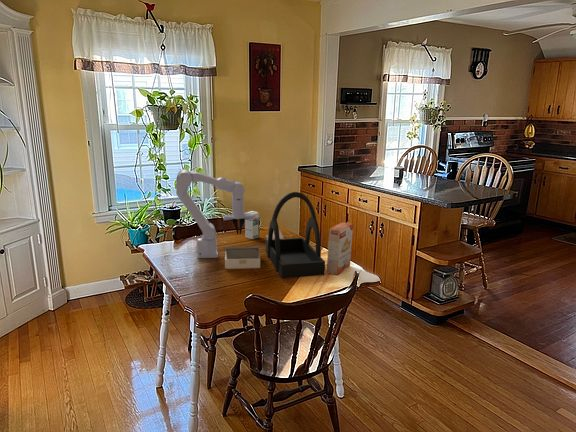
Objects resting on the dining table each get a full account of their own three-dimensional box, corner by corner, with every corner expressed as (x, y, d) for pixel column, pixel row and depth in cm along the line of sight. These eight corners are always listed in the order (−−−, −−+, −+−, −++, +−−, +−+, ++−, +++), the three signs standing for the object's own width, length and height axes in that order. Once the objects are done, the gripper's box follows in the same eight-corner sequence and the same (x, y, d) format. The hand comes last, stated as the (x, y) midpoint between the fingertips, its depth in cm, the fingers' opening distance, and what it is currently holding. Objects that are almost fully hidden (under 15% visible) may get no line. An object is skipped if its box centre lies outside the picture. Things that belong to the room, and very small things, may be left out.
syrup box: (252, 239, 239) (252, 214, 235) (244, 237, 242) (244, 212, 239) (259, 237, 243) (259, 212, 240) (251, 235, 247) (251, 210, 243)
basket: (264, 252, 220) (264, 185, 211) (304, 249, 226) (306, 184, 217) (279, 279, 188) (281, 201, 179) (326, 275, 193) (329, 199, 184)
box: (225, 269, 197) (224, 259, 196) (225, 257, 211) (225, 249, 209) (260, 268, 199) (260, 259, 197) (258, 257, 212) (258, 248, 211)
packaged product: (265, 229, 243) (283, 228, 245) (265, 237, 245) (283, 237, 246) (268, 239, 226) (287, 238, 228) (268, 247, 228) (287, 247, 229)
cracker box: (338, 275, 192) (340, 230, 187) (326, 272, 195) (328, 228, 190) (351, 266, 204) (353, 223, 198) (339, 263, 207) (341, 221, 201)
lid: (224, 248, 195) (224, 247, 195) (224, 249, 209) (224, 247, 209) (260, 248, 197) (260, 246, 197) (259, 248, 211) (259, 247, 211)
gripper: (252, 204, 215) (253, 230, 219) (223, 205, 214) (224, 231, 217) (253, 208, 209) (253, 234, 212) (222, 208, 207) (224, 235, 211)
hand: (238, 233), depth 214 cm, fingers closed
